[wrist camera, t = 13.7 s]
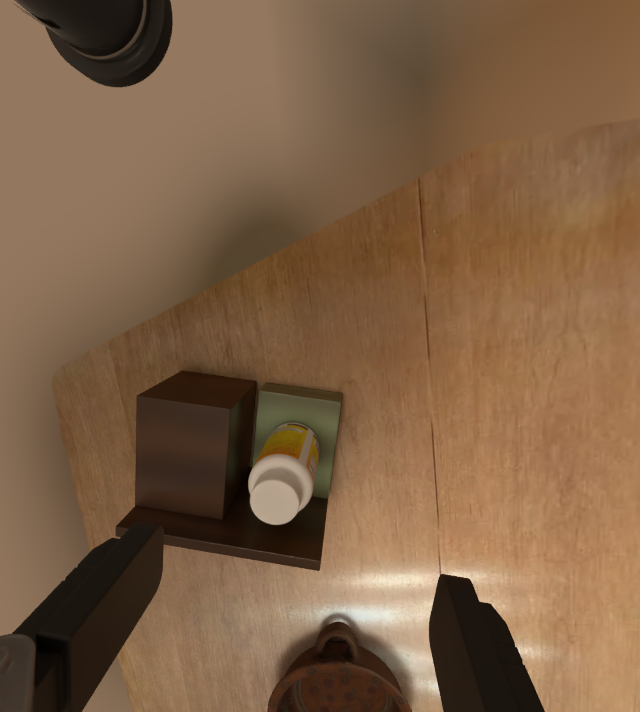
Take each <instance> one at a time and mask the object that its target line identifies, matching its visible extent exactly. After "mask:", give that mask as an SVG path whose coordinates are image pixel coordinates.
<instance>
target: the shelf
mask: <svg viewBox="0 0 640 712" xmlns="http://www.w3.org/2000/svg"><path fill="white" fill-rule="evenodd" d="M255 393H256V381H250V380H243V379H236V378H229V377H222V376H215V375H208V374H201V373H194V372H187V371H181V372H179V373H177V374H175V375H174V376H172V377H170V378H168V379H166V380H164V381H163V382H161V383H159V384H157V385H155V386H153V387H152V388H150V389H148V390H146V391H144V392H143V393H141V394H139V395H137V413H136V481H135V507H134V508H133V509H132V510H131V511H130V512H129V513H128V514H127V515H126V516H125V517H124V518H123V519H122V521H121V522H120V523H119V524H118V525H117V526H116V536H118V537H122V536H123V535H124V534H125V533H126V531H127V530H128V529H129V528H130V527H131V526H132V525H133V524H134V523H136V522H141V523H147V524H153V525H159V526H162V527H163V529H164V545H170V546H176V547H182V548H188V549H194V550H199V551H205V552H211V553H217V554H223V555H229V556H235V557H240V558H246V559H252V560H258V561H264V562H270V563H276V564H281V565H287V566H293V567H299V568H305V569H311V570H317V571H319V570H320V564H321V556H322V548H323V539H324V531H325V522H326V513H327V505H328V497H329V489H330V482H331V475H332V468H333V461H334V453H335V446H336V439H337V432H338V425H339V417H340V410H341V403H342V393H335V392H328V391H321V390H314V389H306V388H299V387H292V386H285V385H278V384H271V383H265V384H264V385H263V387H262V388H261V389H260V390H259V397H258V408H257V419H256V431H255V442H254V453H253V465H252V468H253V466H254V465H255V463H256V461H257V459H258V457H259V455H260V453H261V451H262V449H263V447H264V445H265V443H266V441H267V439H268V437H269V435H270V434H271V433H272V431H273V430H274V429H275V428H277V427H278V426H280V425H282V424H285V423H299V424H302V425H305V426H306V427H308V428H309V429H311V430H312V431H313V432H314V434H315V435H316V437H317V439H318V441H319V445H320V453H319V459H318V465H317V471H316V476H315V482H314V487H313V492H312V496H311V498H310V500H309V502H308V503H307V505H306V506H305V507H304V508H303V509H302V510H300V511H299V512H297V514H296V516H295V517H294V518H293V519H292V520H291V521H289V522H287V523H285V524H281V525H272V524H268V523H265V522H263V521H262V520H260V519H259V518H258V517H257V516H256V515H255V514H254V512H253V511H252V508H251V505H250V496H251V495H250V493H249V488H248V480H249V476H250V473H251V472H249V463H250V451H251V440H252V428H253V416H254V405H255Z"/></svg>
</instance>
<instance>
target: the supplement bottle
mask: <svg viewBox="0 0 640 712" xmlns="http://www.w3.org/2000/svg"><path fill="white" fill-rule="evenodd" d="M319 453H320V445H319V441H318V439H317V437H316V435H315V434H314V432H313V431H312V430H311V429H309V428H308V427H306V426H305V425H302V424H299V423H285V424H282V425H280V426H278V427H277V428H275V429H274V430H273V431H272V433H271V434H270V435H269V437H268V439H267V441H266V443H265V445H264V447H263V449H262V451H261V453H260V455H259V457H258V459H257V461H256V463H255V465H254V466H253V468H252V470H251V473H250V476H249V480H248V488H249V493H250V495H251V496H250V505H251V508H252V511H253V512H254V514H255V515H256V516H257V517H258V518H259V519H260V520H262V521H263V522H265V523H268V524H272V525H281V524H285V523H287V522H289V521H291V520H292V519H293V518H294V517H295V516H296V514H297V512H299V511H300V510H302V509H303V508H304V507H305V506H306V505H307V503H308V502H309V500H310V498H311V496H312V492H313V487H314V482H315V476H316V471H317V465H318V459H319Z"/></svg>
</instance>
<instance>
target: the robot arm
mask: <svg viewBox="0 0 640 712" xmlns="http://www.w3.org/2000/svg"><path fill="white" fill-rule="evenodd" d="M15 1H16V2H18V3H19V4H20V5H21V6H22V7H23V8H25V9H26V10H27V11H28V12H30V13H31V14H32V15H33V16H34V17H33V16H32V15H30V14H29V13H27V12H26V11H24V10H23V9H21V8H20V7H18V6H17V7H18V8H20V9H21V10H22V11H23V12H25V13H26V14H28V15H30V16H31V17H32V18H34V19H36V18H37V19H36V20H37V21H38V22H40V23H42V24H43V25H44V26H46V27H47V28H49V29H50V30H52V31H53V32H54V33H55V34H57V35H58V36H59V37H60V38H62V39H63V41H64V42H65V43H66V44H67V45H68V46H70V47H71V48H72V49H73V50H75V51H76V52H77V53H78V54H80V55H81V56H83V57H85V58H87V59H89V60H91V61H95V62H100V63H110V62H115V61H118V60H120V59H123V58H124V57H126V56H128V55H129V54H130V53H131V52H132V51H133V50H135V48H136V47H137V46H138V45H139V43H140V42H141V40H142V38H143V36H144V34H145V32H146V29H147V25H148V21H149V13H150V2H149V0H15ZM35 17H36V18H35ZM163 546H164V529H163V527H162V526H159V525H153V524H147V523H141V522H136V523H134V524H133V525H132V526H131V527H130V528H129V529H128V530H127V531H126V533H125V534H124V535H123V536H122V537H121V538H120V539H116V538H111V539H109V540H107V541H106V542H104V543H103V544H101V545H99V546H98V547H96V548H94V549H93V550H92V551H91V552H90V553H89V554H88V555H87V556H86V557H85V558H84V559H83V560H82V561H81V562H80V563H79V565H78V567H77V568H75V569H74V570H73V571H72V572H71V573H70V574H69V575H68V576H67V577H66V579H65V581H62V582H61V583H60V584H59V585H58V586H57V587H56V588H55V589H54V590H53V591H52V593H51V594H50V595H49V596H48V597H47V598H46V599H45V600H44V601H43V602H42V603H41V604H40V605H39V606H38V607H37V608H36V609H35V610H34V611H33V612H32V614H31V615H30V616H29V617H28V618H27V619H26V620H25V621H24V622H23V623H22V624H21V625H20V626H19V627H18V628H17V629H16V630H15V631H14V632H13V633H12V634H8V635H3V636H0V712H82V710H83V709H84V707H85V705H86V704H87V702H88V701H89V699H90V698H91V696H92V694H93V693H94V691H95V690H96V688H97V686H98V685H99V683H100V682H101V680H102V678H103V677H104V675H105V674H106V672H107V670H108V669H109V667H110V666H111V664H112V662H113V661H114V659H115V658H116V656H117V654H118V653H119V651H120V650H121V648H122V646H123V645H124V643H125V642H126V640H127V638H128V637H129V635H130V634H131V632H132V630H133V629H134V627H135V626H136V624H137V622H138V621H139V619H140V618H141V616H142V615H143V613H144V611H145V610H146V608H147V607H148V605H149V603H150V602H151V600H152V599H153V597H154V595H155V593H156V591H157V589H158V587H159V584H160V581H161V577H162V572H163ZM429 641H430V648H431V652H432V657H433V662H434V667H435V672H436V677H437V682H438V686H439V691H440V696H441V701H442V706H443V711H444V712H545V711H544V709H543V706H542V704H541V702H540V699H539V697H538V695H537V693H536V690H535V688H534V686H533V684H532V681H531V679H530V677H529V674H528V672H527V670H526V668H525V665H523V663H522V658H521V656H520V654H519V652H518V649H517V647H515V642H514V640H513V638H512V636H511V633H510V631H509V629H508V626H507V624H506V622H505V621H504V620H503V619H502V617H501V616H500V615H499V614H498V613H497V611H496V610H495V609H494V608H493V606H492V605H491V604H489V603H483V602H479V600H478V597H477V595H476V592H475V589H474V587H473V584H472V582H471V580H470V579H468V578H463V577H457V576H451V575H445V574H441V575H440V577H439V580H438V584H437V588H436V593H435V597H434V602H433V606H432V611H431V615H430V621H429Z"/></svg>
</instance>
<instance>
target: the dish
mask: <svg viewBox="0 0 640 712" xmlns="http://www.w3.org/2000/svg"><path fill="white" fill-rule="evenodd" d="M332 637H340V638H342V639H344V640H345V641H346V642H347V643H345V642H329V643H327V641H328V640H329V639H330V638H332ZM268 712H412V710H411V708H410V706H409V704H408V702H407V701H406V699H405V697H404V696H403V695H402V692H401V690H400V687H399V685H398V683H397V681H396V679H395V677H394V675H393V674H392V672H391V671H390V669H389V668H388V667H387V666H386V664H385V663H384V662H383V661H382V660H381V659H380V658H378V657H377V656H376V655H374V654H373V653H371V652H370V651H368V650H367V649H365V648H363V647H361V646H358V643H357V639H356V637H355V635H354V633H353V631H352V630H351V628H350V627H349V626H348V625H347V624H345V623H342V622H334V623H331V624H329V625H327V626H326V627H325V628H324V629H322V631H321V632H320V634H319V636H318V640H317V643H316V646H314V647H312V648H310V649H308V650H307V651H305V652H304V653H302V654H301V655H300V656H299V657H298V658H297V659H296V660H295V661H294V662H293V663H292V665H291V666H290V668H289V669H288V671H287V672H286V674H285V676H284V677H283V678H282V679H281V680H280V681H279V683H278V684H277V685H276V687H275V688H274V690H273V692H272V695H271V697H270V699H269V703H268Z"/></svg>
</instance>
